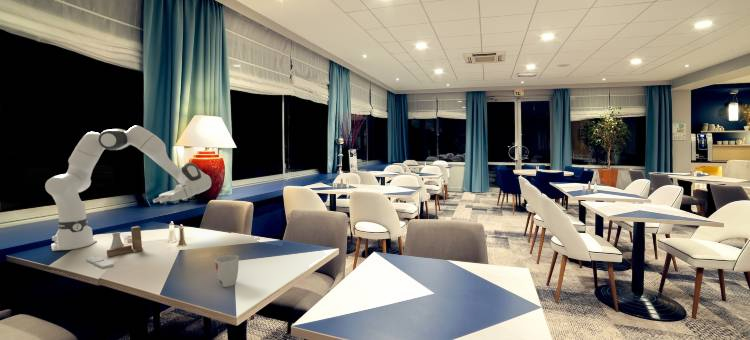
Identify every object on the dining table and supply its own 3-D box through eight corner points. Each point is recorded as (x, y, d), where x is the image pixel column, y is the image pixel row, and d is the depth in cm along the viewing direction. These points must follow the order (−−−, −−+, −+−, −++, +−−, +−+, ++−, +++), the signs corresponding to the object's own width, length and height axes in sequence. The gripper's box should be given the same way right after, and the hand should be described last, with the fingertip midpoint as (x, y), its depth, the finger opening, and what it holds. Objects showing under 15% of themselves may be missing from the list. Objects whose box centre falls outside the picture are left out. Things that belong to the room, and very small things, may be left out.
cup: (221, 280, 138) (219, 255, 138) (242, 279, 139) (241, 254, 138) (213, 289, 130) (211, 262, 129) (236, 287, 131) (234, 261, 130)
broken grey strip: (86, 260, 166) (86, 258, 166) (96, 258, 169) (96, 256, 169) (102, 268, 155) (102, 266, 155) (113, 265, 158) (113, 263, 158)
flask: (130, 251, 180) (128, 231, 179) (116, 255, 173) (114, 235, 172) (119, 250, 182) (117, 230, 181) (105, 254, 175) (103, 234, 174)
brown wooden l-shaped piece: (94, 251, 180) (92, 227, 179) (126, 244, 191) (124, 222, 190) (110, 257, 169) (108, 232, 168) (143, 249, 180) (141, 226, 179)
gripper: (173, 186, 204) (147, 196, 194) (188, 185, 190) (161, 195, 180) (177, 196, 205) (152, 206, 195) (192, 196, 192) (166, 207, 182)
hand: (156, 201), depth 188 cm, fingers open, 8 cm apart
